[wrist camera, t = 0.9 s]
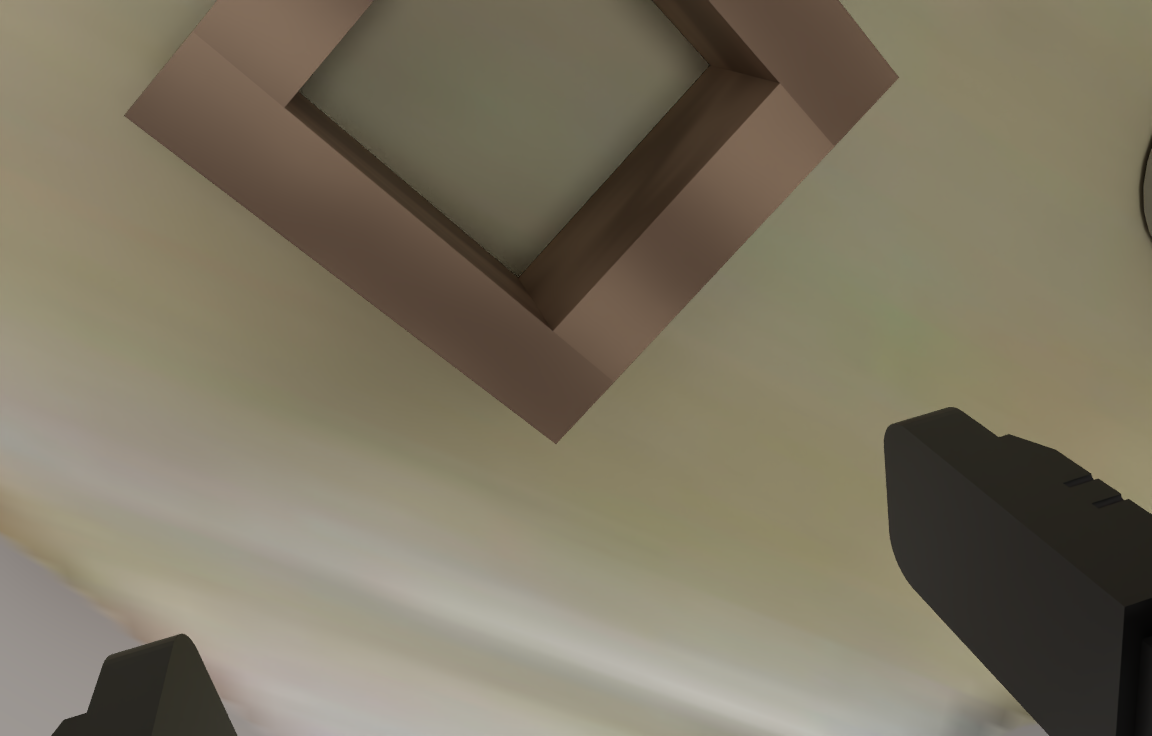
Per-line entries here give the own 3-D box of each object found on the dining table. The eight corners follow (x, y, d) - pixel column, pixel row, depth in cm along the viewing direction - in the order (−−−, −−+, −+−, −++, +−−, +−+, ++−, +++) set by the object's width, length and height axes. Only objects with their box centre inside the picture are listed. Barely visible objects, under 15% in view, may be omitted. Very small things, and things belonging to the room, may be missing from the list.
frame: (493, -327, 25) (533, -390, 20) (813, 60, 31) (898, 77, 26) (156, 89, 26) (123, 115, 22) (522, 377, 32) (555, 444, 28)
